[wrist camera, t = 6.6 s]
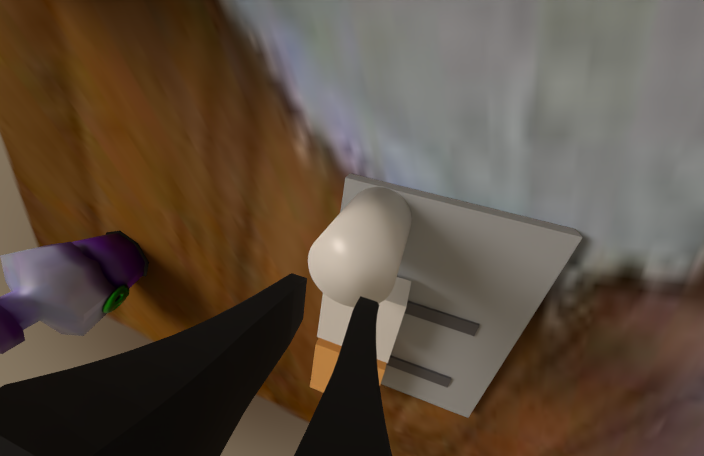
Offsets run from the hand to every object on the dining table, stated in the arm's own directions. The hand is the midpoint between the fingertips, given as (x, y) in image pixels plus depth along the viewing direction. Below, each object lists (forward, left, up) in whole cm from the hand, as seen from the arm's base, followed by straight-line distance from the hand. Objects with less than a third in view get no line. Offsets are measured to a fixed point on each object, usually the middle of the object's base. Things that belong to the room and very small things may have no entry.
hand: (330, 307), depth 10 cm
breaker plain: (0, +6, -8) cm, 10 cm away
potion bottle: (+24, +12, -10) cm, 29 cm away
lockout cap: (0, 0, -8) cm, 8 cm away
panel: (-4, +7, -9) cm, 12 cm away
